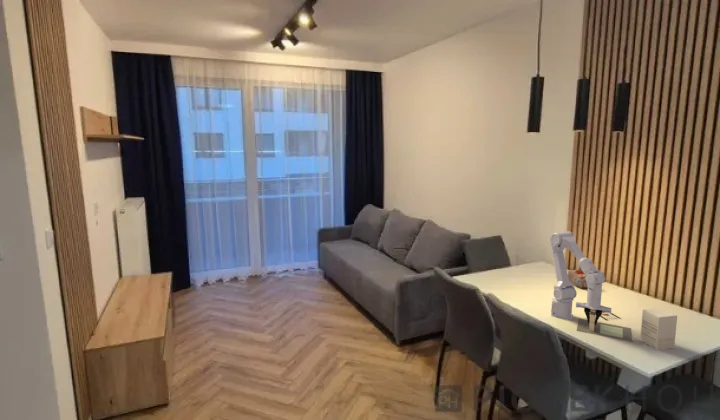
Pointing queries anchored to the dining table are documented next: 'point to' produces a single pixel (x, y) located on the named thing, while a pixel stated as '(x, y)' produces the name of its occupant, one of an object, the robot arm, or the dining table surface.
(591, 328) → the tile
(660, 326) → the supplement box
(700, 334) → the dining table surface
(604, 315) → the chocolate bar
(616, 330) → the mat
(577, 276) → the food item
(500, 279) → the dining table surface
